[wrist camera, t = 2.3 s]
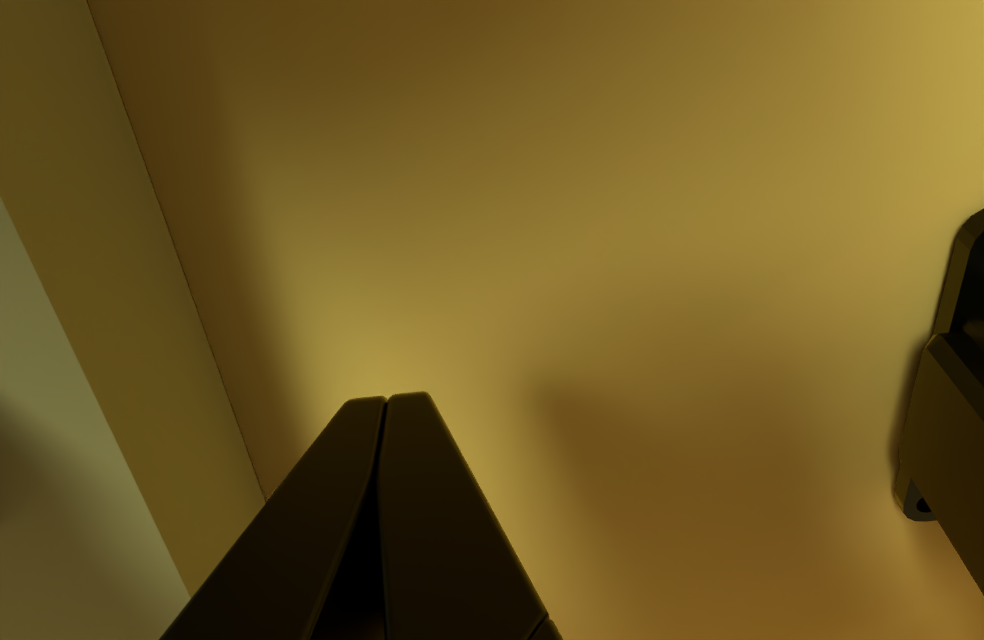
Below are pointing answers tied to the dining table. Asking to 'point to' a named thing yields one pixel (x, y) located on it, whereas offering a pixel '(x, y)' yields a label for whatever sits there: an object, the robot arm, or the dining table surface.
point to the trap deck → (98, 361)
